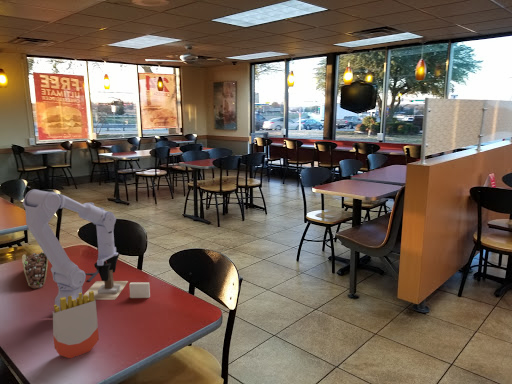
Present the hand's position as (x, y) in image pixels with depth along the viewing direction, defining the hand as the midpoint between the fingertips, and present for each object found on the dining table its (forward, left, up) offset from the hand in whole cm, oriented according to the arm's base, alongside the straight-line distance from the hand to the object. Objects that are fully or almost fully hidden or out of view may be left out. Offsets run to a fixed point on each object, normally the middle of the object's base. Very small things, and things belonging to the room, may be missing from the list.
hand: (108, 276), depth 150 cm
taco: (+15, +35, -7) cm, 39 cm away
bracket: (+16, +18, -7) cm, 25 cm away
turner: (0, 0, -6) cm, 6 cm away
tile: (-5, -13, -7) cm, 15 cm away
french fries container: (-38, -4, -7) cm, 39 cm away
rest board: (+1, +2, -6) cm, 7 cm away
